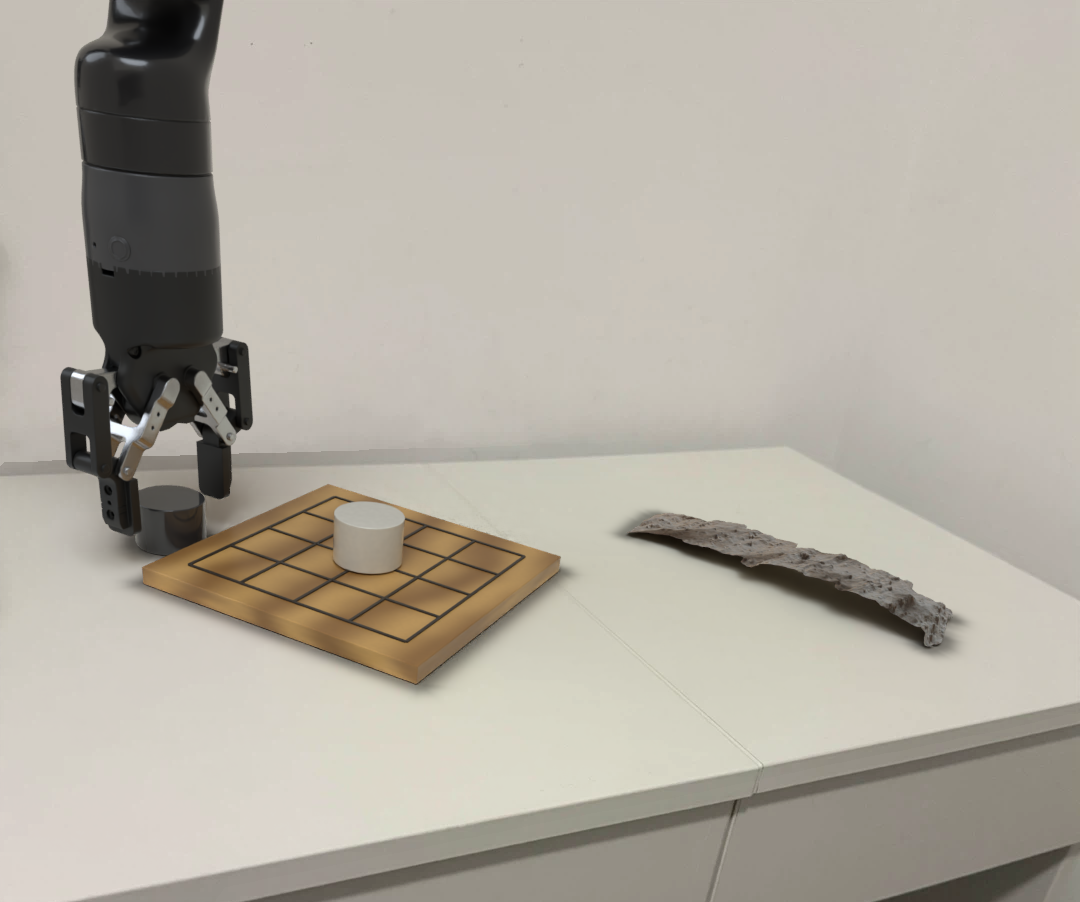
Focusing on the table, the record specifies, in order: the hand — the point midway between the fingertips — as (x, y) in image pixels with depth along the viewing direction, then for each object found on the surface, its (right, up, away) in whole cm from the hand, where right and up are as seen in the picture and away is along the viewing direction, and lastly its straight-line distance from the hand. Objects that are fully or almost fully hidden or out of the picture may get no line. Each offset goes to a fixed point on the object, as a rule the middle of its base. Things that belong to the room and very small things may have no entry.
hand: (171, 513), depth 71 cm
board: (+13, -4, +1) cm, 14 cm away
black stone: (0, -2, +2) cm, 2 cm away
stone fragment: (+43, -3, +10) cm, 45 cm away
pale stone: (+13, -3, 0) cm, 13 cm away
